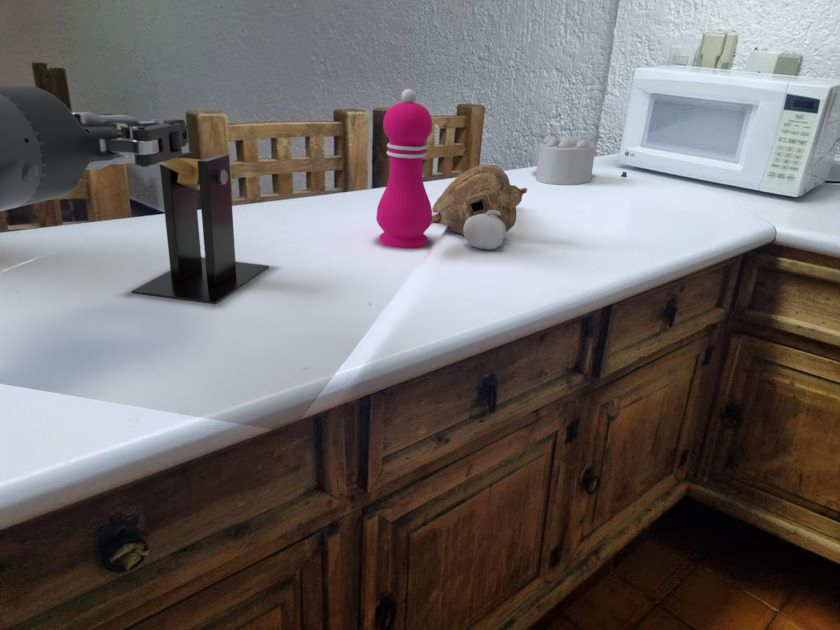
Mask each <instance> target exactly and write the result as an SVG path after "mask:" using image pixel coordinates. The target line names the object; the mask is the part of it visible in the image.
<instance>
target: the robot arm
mask: <svg viewBox="0 0 840 630" xmlns="http://www.w3.org/2000/svg"><path fill="white" fill-rule="evenodd" d="M186 123H187V122H186V121H185V120H184V119H179V118H172V119H165V120H160V119H157V118H155V119H154V118H152V119H151V120H138V118H137V117H136V116H133V115H127V114H113V113H96V112H89V111H75V112H74V111H72V110H71V109H70V108H69V107H67V105H66V104H65V103H64V102H63V101H61V99H59V98H58V97H57V96H55V95H54V94H52V93H51V92H48V91H47V90H45V89H44V88H43V89H42V88H40V87H36V86H32V85H0V212H3V211H8V210H13V209H16V208H21V207H25V206H29V205H34V204H38V203H42V202H46V201H51V200H54V199H58V198H62V197H64V196H66V195H67V194H69V193H70V192H72V191H73V190H75V188H77V186H78V184H79V183H80V182H81V180H82V178H83V176H84V174H85V172H86V171H90V170H102V169H104V168H106V166H111V165H123V164H134V165H135V166H140V167H141V168H148V167H149V166H153V165H157V164H159V163H161V162H164V161H167V160H171V159H174V158H178V157H181V156H182V152H183V148H184V147H187V144H189V129H188V127H189V126H188V125H187V124H186ZM118 125H119V126H120V129H121V132H122V138H118V134H117V130H116V129H118Z"/></svg>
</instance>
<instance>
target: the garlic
mask: <svg viewBox="0 0 840 630" xmlns="http://www.w3.org/2000/svg"><path fill="white" fill-rule="evenodd" d="M491 214H495V215H500V212H499V211H496V210H489V211H487V212H486V214H477V215H474V216H472V217H470V218H468V219H467V220H466V222H465V224H464V228H463V232H464V235H463V236H464V239H465V240H466V242H467V244H469V246H471V247H474V248H476V249H480V250H487V251H488V250H489V251H491V250H494V249H497V248H498V247H500V246H501V245H502V243H503V241H504V239H505V237H506V233H507V232H506V228H505V224H504V223H503V222H502V221H501V220H500V219H499V218H498V217H496V216H494V215H491Z"/></svg>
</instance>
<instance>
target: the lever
mask: <svg viewBox="0 0 840 630" xmlns="http://www.w3.org/2000/svg"><path fill="white" fill-rule="evenodd" d="M116 130H117V134H118V138H122V132H121V128H117V129H116ZM199 160H200V159H197V158H193V159H187V158H181V159H179V158H174V159H171V160H167V161H164V162H161V163H158V165H160V164H161V165H163V166H165V167H167V168H169V169H171V170H173V171H176V172H178V180H177V182H178V183H180V184H182V185H185V186H187V187H189V188H191V189H196V190H198V191H200V186H199V173H198V161H199Z"/></svg>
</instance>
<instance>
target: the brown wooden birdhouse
mask: <svg viewBox="0 0 840 630" xmlns="http://www.w3.org/2000/svg"><path fill="white" fill-rule="evenodd" d="M527 192H528V187H527V188H526V187H523V188H519V187H518V186H517V185H513V184H511V183H510V179H509V177H508V175H507V173H506V172H505V170H503V169H502V168H501V167H499V166H497V165H494V164H480V165H476V166H474V167H472V168H469V169H468V170H465V171H463V172H462V173H461V174H460V175H458V176H456V178H454V179H453V180H452V181H451V182H450V183H449V184H448V185H447V187H446V188H445V189H444V190H443V192H442V194H441V195H440V196H439V197H438V198H437V199H436V201H435V202H434V204H433V206H432V207H431V209H432V213H437V214H434V215H432V223H433V222H438V223H439V224H441V225H444V226H446V228H445V229H446V230H448V231H451V232H453V233H456V234H459V235H463V236H464V232H463V228H464V224H465V222H466V220H467V219H468V218H470V217H472V216H474V215H477V214H486V212H487V211H489V210H496V211H499V212H500V215H495V214H491V215H494V216H496V217H498V218H499V219H500V220H501V221H502V222H503V223H504V224H505V228H506V233H508V232H509V231H511V229H512V228H513V227H514V226H515V224H516V222H517V207H518V206H519V205H520V204H521V202H522V199H523V196H524V194H526V193H527Z"/></svg>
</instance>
